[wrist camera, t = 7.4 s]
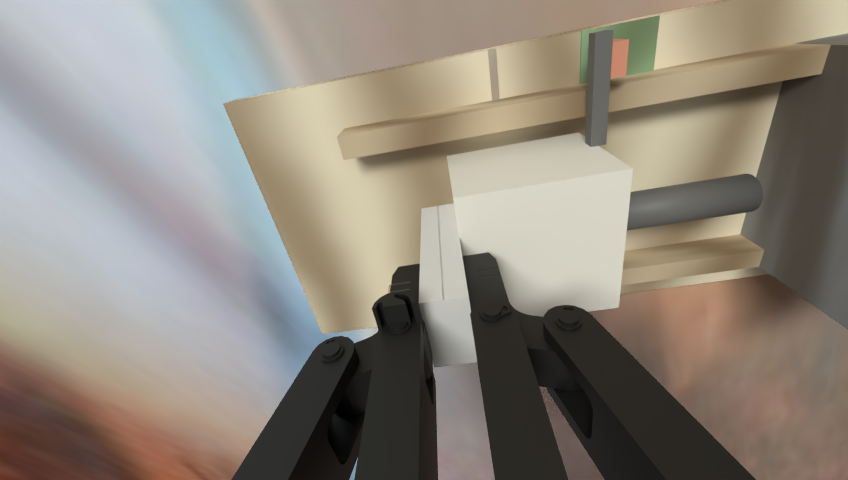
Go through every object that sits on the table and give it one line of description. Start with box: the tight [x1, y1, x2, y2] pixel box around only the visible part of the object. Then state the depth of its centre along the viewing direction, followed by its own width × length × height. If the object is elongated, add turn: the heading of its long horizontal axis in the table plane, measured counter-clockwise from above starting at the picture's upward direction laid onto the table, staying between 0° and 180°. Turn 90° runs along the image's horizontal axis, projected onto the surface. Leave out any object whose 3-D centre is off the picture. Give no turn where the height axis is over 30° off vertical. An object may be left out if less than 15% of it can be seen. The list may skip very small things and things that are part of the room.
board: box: [223, 0, 848, 334], centre depth 15 cm, size 28×14×9 cm, turn 100°
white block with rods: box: [447, 30, 763, 317], centre depth 15 cm, size 12×10×5 cm
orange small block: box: [611, 39, 629, 79], centre depth 14 cm, size 1×1×2 cm, turn 11°
